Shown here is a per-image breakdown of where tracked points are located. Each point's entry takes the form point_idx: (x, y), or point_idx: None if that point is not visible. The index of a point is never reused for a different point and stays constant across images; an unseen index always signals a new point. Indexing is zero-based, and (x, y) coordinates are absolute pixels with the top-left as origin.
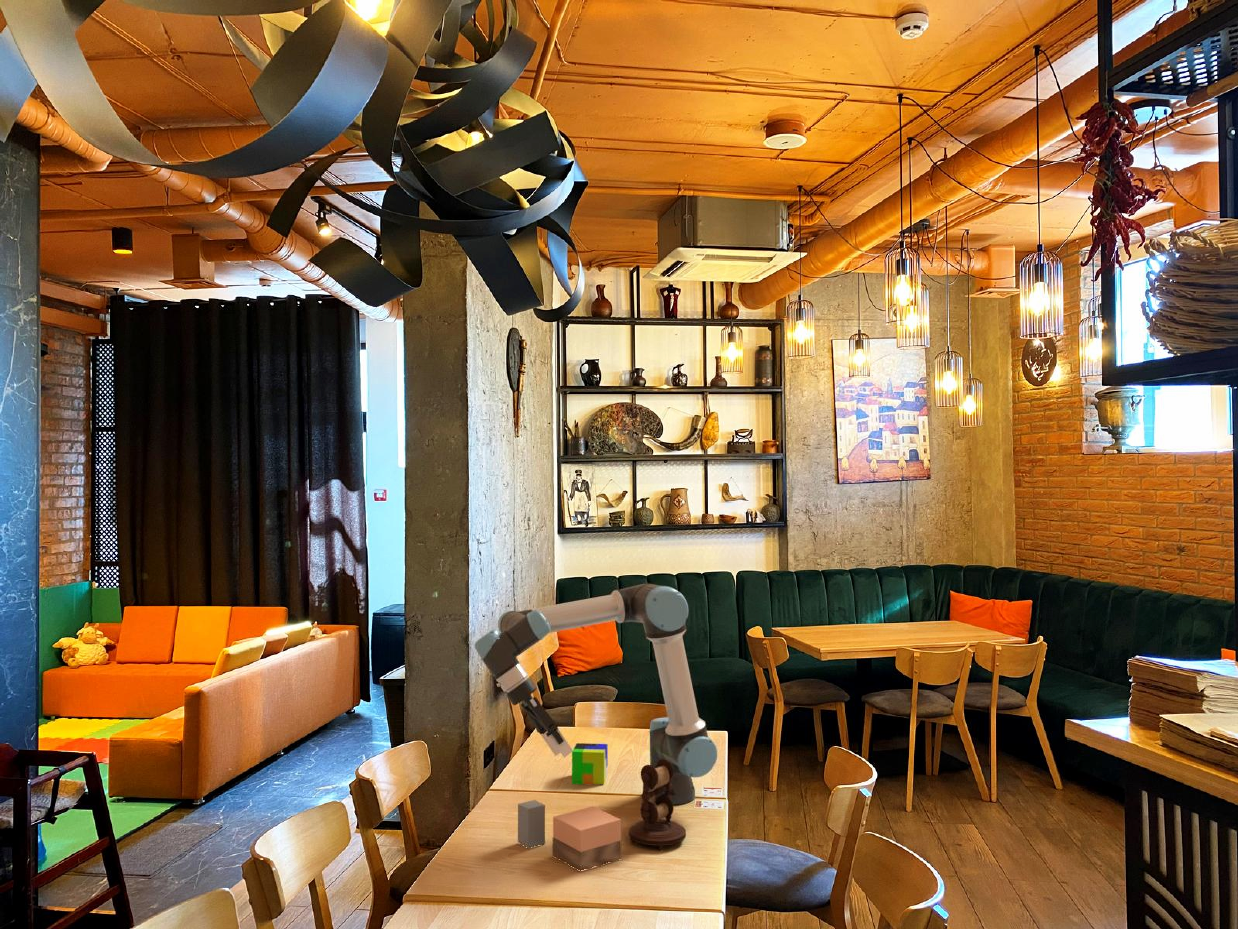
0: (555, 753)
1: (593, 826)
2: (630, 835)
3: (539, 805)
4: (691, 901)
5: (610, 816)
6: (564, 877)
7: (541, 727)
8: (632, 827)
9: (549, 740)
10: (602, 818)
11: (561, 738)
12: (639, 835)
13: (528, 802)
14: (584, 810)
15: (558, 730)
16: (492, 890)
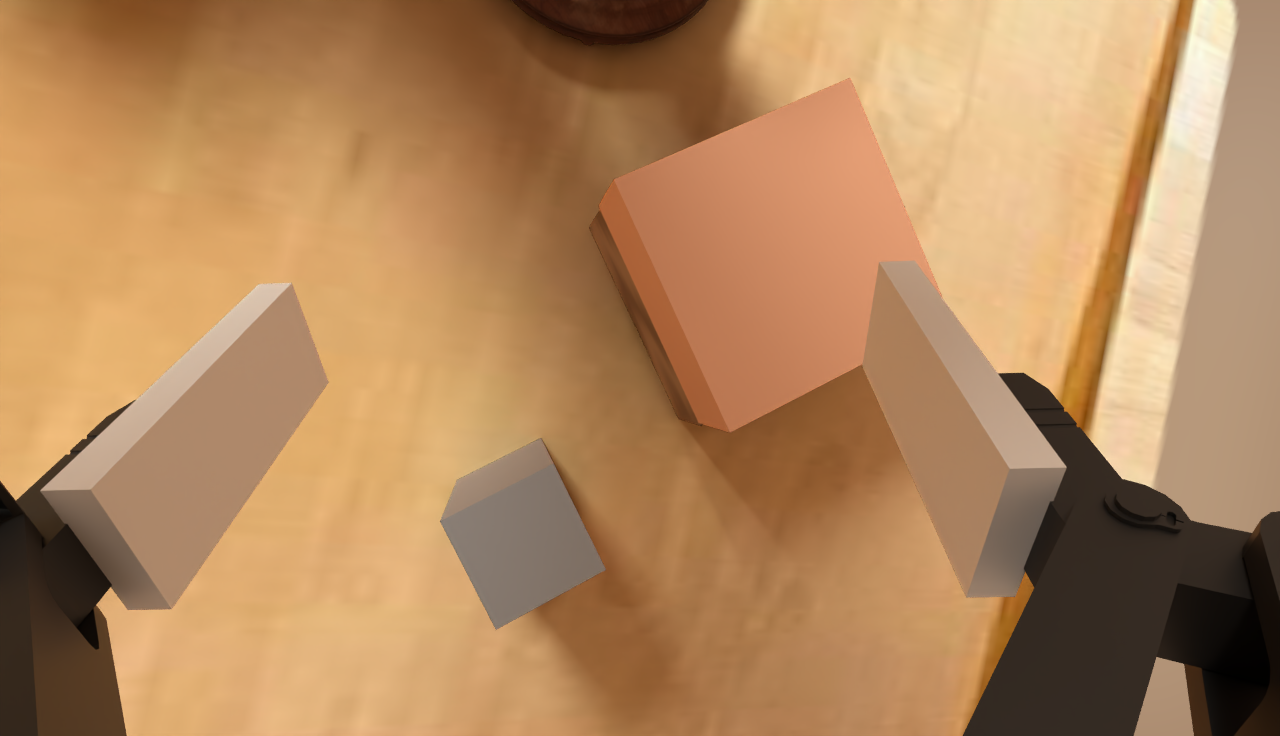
0: (315, 386)
1: (914, 244)
2: (614, 37)
3: (556, 497)
4: (1131, 12)
5: (796, 119)
6: None
7: (88, 669)
8: (571, 1)
9: (222, 473)
10: (816, 170)
11: (1059, 413)
12: (672, 2)
13: (484, 562)
14: (672, 240)
15: (1054, 462)
16: (931, 667)
